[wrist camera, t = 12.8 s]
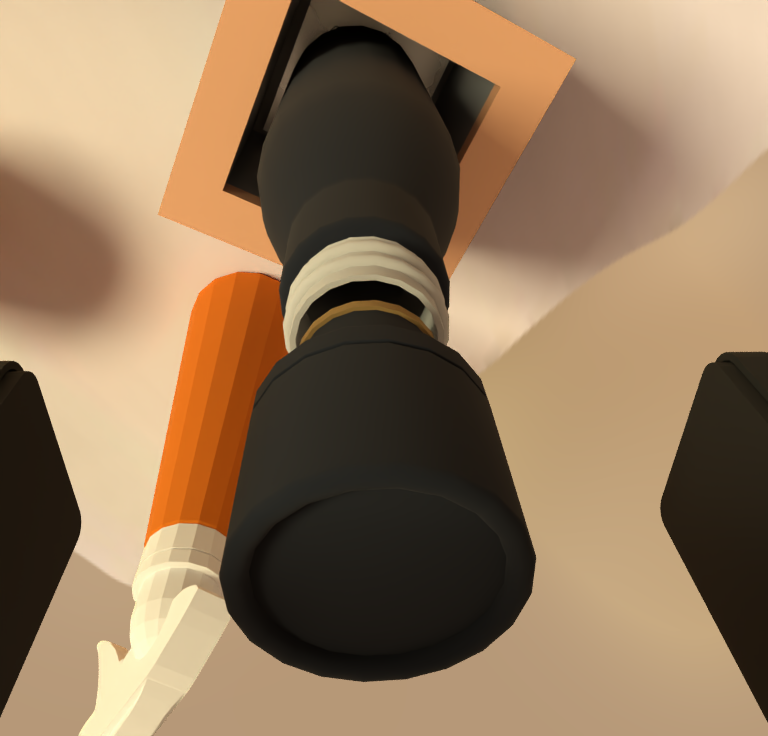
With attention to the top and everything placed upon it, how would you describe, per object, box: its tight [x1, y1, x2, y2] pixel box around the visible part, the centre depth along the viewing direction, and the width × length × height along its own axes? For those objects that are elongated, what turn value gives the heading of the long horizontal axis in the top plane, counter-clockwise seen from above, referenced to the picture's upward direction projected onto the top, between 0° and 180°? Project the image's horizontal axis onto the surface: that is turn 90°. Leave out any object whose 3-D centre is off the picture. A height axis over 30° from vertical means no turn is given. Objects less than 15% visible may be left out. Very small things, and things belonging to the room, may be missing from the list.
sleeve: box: [158, 0, 576, 279], centre depth 30 cm, size 12×12×11 cm
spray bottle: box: [79, 272, 288, 736], centre depth 32 cm, size 7×11×26 cm, turn 141°
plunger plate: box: [263, 0, 450, 132], centre depth 34 cm, size 7×7×1 cm
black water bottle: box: [219, 25, 536, 682], centre depth 21 cm, size 6×6×30 cm
